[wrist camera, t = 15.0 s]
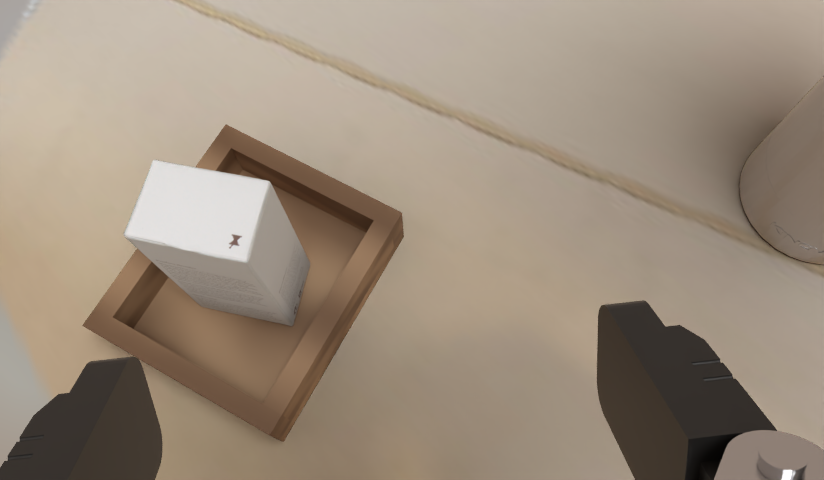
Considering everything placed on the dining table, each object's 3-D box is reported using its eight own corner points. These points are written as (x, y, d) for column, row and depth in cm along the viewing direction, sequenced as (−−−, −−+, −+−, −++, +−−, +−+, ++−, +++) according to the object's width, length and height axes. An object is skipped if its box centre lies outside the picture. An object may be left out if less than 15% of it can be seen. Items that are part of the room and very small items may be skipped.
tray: (241, 154, 49) (225, 124, 45) (403, 236, 46) (401, 212, 43) (111, 340, 44) (82, 325, 41) (283, 441, 42) (269, 435, 38)
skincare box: (312, 261, 45) (275, 179, 34) (294, 328, 43) (248, 265, 32) (218, 242, 45) (150, 155, 34) (197, 307, 44) (119, 238, 33)
